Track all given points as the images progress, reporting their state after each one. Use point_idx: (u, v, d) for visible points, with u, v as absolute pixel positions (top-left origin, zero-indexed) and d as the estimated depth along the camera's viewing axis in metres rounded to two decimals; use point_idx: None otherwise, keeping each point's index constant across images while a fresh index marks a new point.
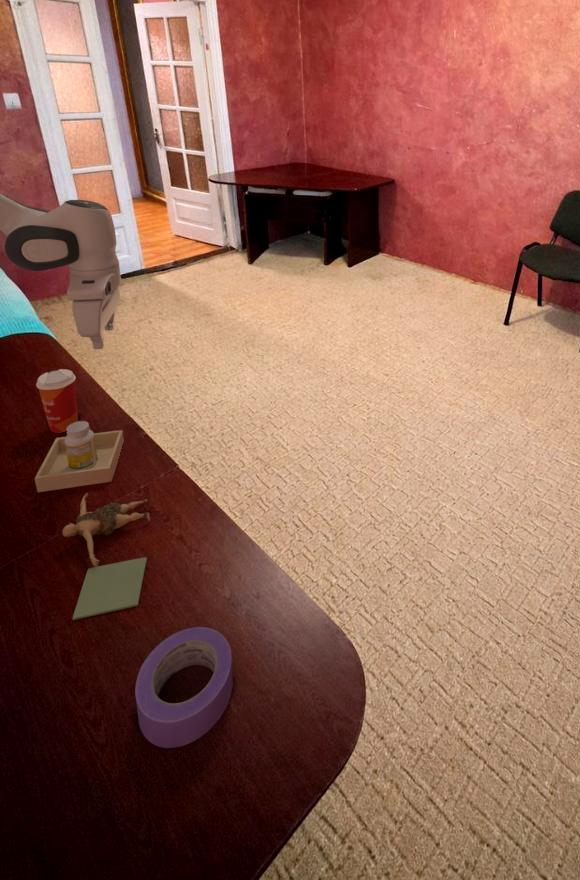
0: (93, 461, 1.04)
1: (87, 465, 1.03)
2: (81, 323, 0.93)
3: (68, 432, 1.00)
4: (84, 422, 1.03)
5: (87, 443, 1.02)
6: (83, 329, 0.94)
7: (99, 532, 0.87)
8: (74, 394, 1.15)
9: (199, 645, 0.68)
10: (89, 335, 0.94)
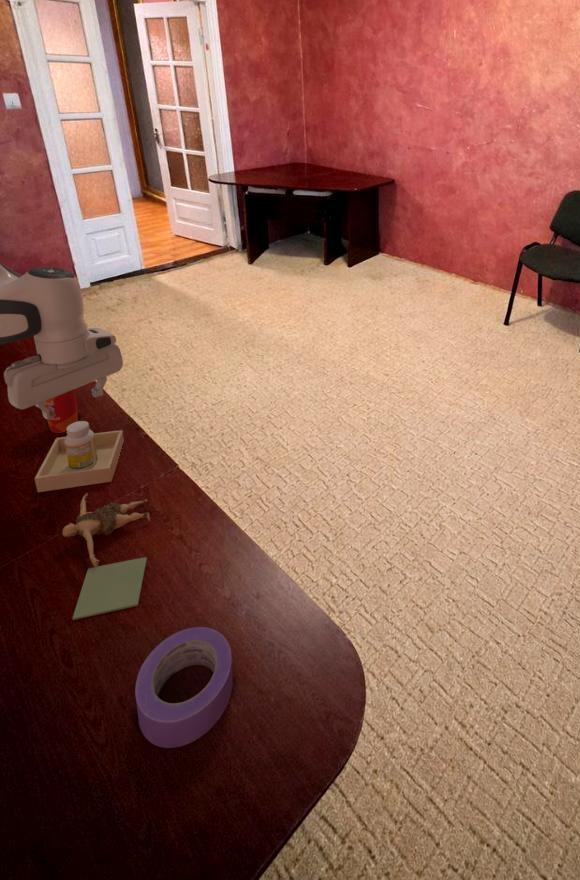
0: (93, 461, 1.04)
1: (87, 465, 1.03)
2: None
3: (68, 432, 1.00)
4: (84, 422, 1.03)
5: (87, 443, 1.02)
6: None
7: (99, 532, 0.87)
8: (74, 394, 1.15)
9: (199, 645, 0.68)
10: None
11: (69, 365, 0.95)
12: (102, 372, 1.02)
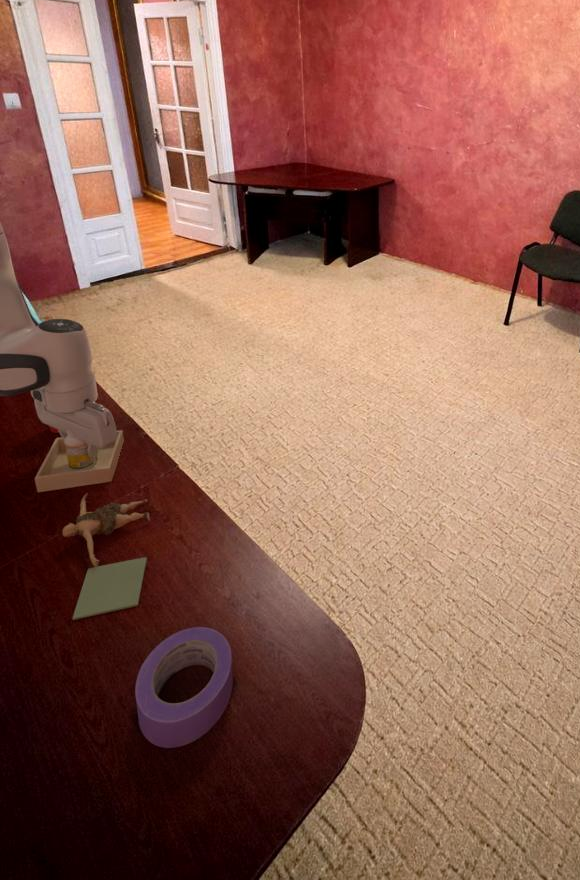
0: (93, 461, 1.04)
1: (87, 465, 1.03)
2: None
3: (68, 432, 1.00)
4: None
5: None
6: None
7: (99, 532, 0.87)
8: None
9: (199, 645, 0.68)
10: None
11: None
12: None
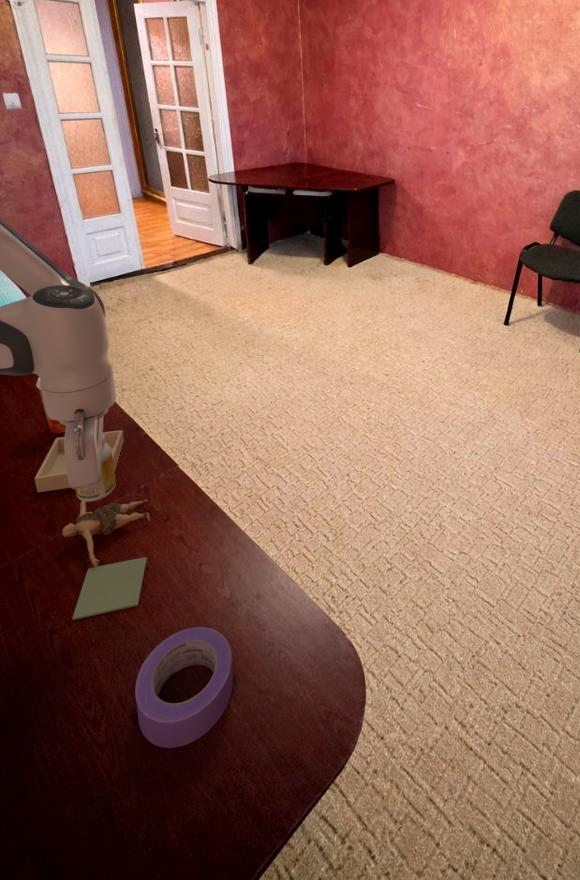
0: (98, 493, 0.74)
1: (89, 496, 0.73)
2: None
3: None
4: None
5: None
6: None
7: (99, 532, 0.87)
8: None
9: (199, 645, 0.68)
10: None
11: (107, 409, 0.72)
12: (102, 416, 0.78)
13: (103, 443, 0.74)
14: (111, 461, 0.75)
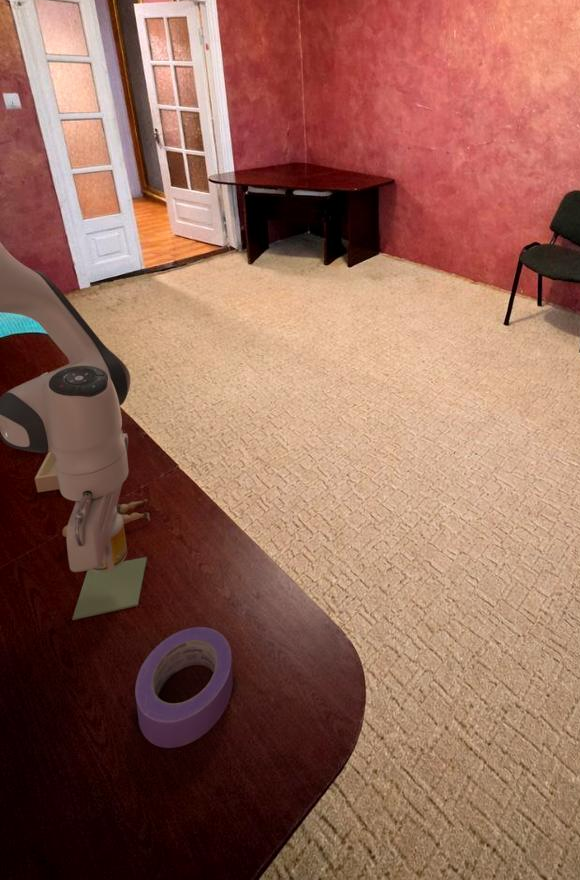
0: (107, 566, 0.75)
1: (98, 568, 0.75)
2: None
3: None
4: None
5: None
6: None
7: None
8: None
9: (199, 645, 0.68)
10: None
11: (118, 486, 0.73)
12: (120, 484, 0.80)
13: (114, 517, 0.75)
14: (122, 534, 0.76)
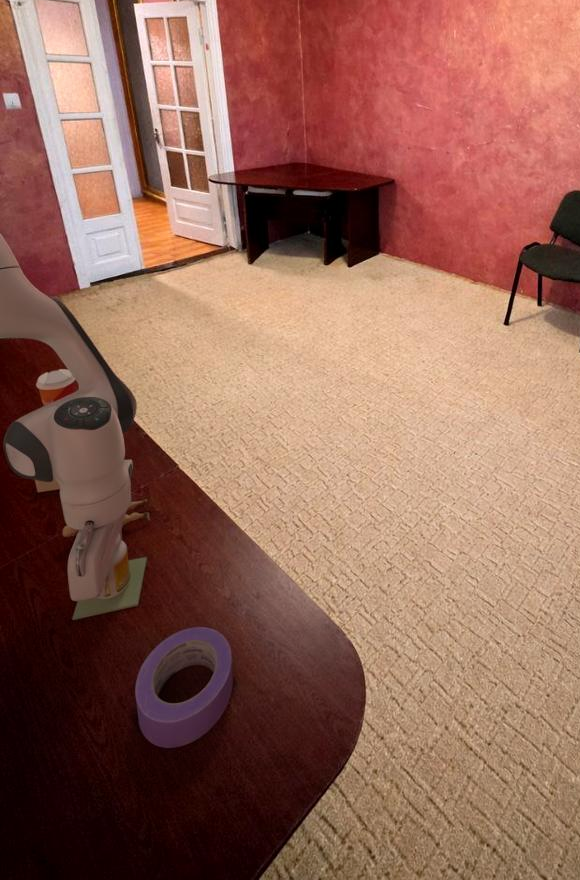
0: (110, 593, 0.77)
1: None
2: None
3: None
4: None
5: None
6: None
7: None
8: None
9: (199, 645, 0.68)
10: None
11: (120, 514, 0.75)
12: None
13: (117, 545, 0.76)
14: (125, 562, 0.78)
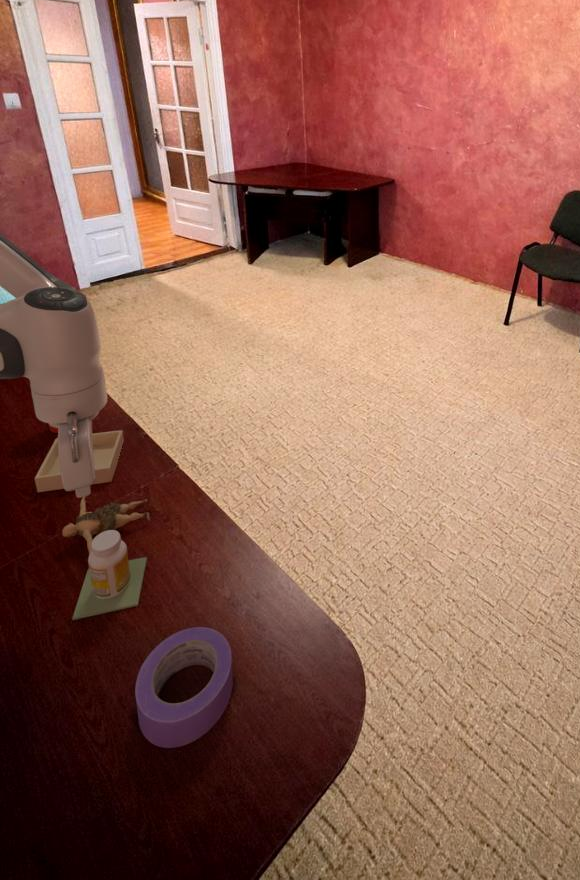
0: (110, 593, 0.77)
1: (101, 595, 0.76)
2: None
3: None
4: (116, 537, 0.77)
5: (101, 569, 0.75)
6: None
7: (99, 532, 0.87)
8: None
9: (199, 645, 0.68)
10: None
11: (98, 411, 0.72)
12: None
13: (117, 545, 0.76)
14: (125, 562, 0.78)
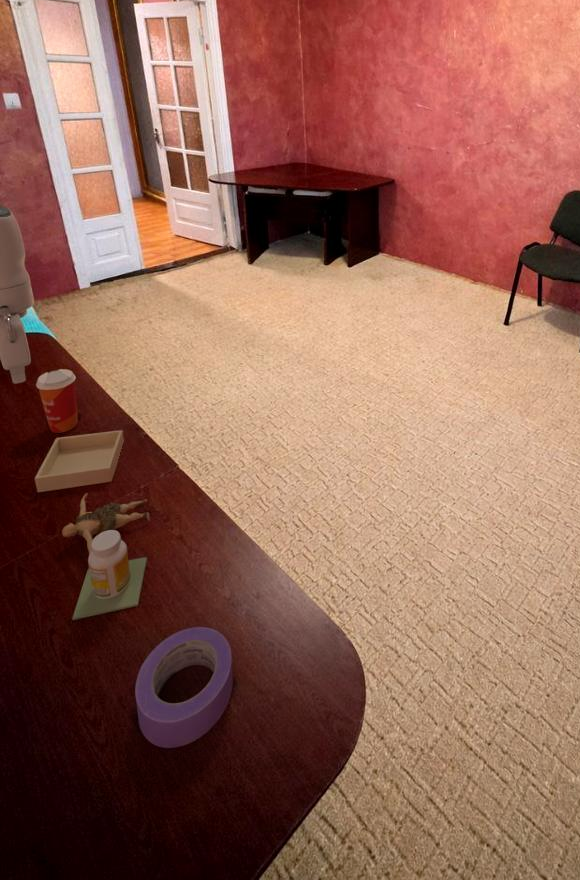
0: (110, 593, 0.77)
1: (101, 595, 0.76)
2: None
3: None
4: (116, 537, 0.77)
5: (101, 569, 0.75)
6: None
7: (99, 532, 0.87)
8: (74, 394, 1.15)
9: (199, 645, 0.68)
10: None
11: (26, 311, 0.84)
12: None
13: (117, 545, 0.76)
14: (125, 562, 0.78)
